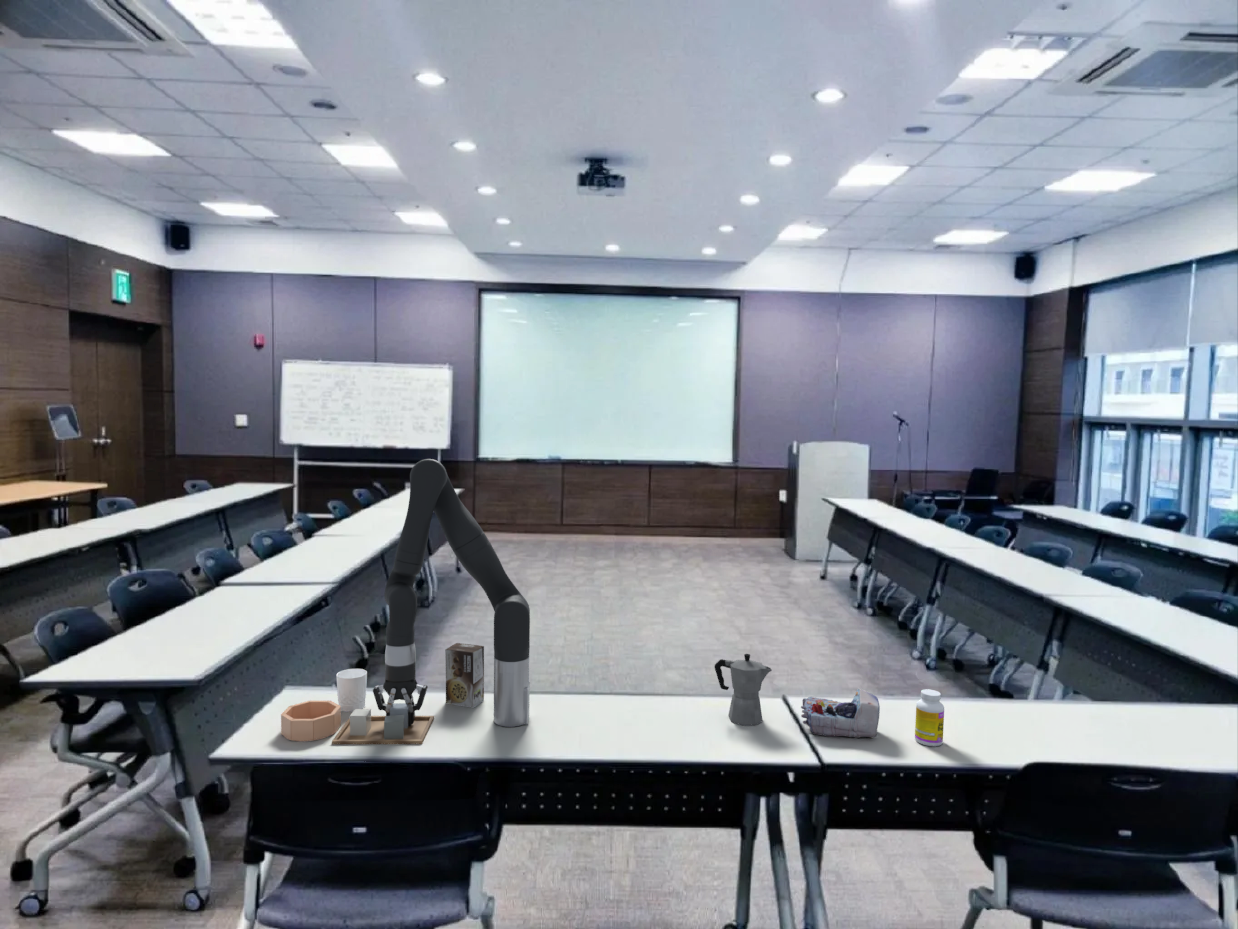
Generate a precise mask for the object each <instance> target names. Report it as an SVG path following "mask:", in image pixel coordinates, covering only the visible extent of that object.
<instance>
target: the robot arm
mask: <svg viewBox="0 0 1238 929" xmlns="http://www.w3.org/2000/svg"><path fill="white" fill-rule="evenodd" d="M409 480H410V481H409V482H410V484H409V488H410V489H409V500H408V506H407V507H408V508H407V511H406V516H405V520H404V524H403V527H402V531H401V533H400V537H399V541H398V544H397V547H396V552H395V557H394V560H393V567H392V569H391V572H390V574H389V576H388V579H387V582H386V583H385V584H386V585H385V588H384V595H383V596H384V600H385V603H386V604H387V605H388V613H389V614H388V622H387V624H386V628H385V629H386V630H385V652H384V675H385V676H384V683H383V684H381V685H379V684H377V685H375V686H374V687H373V689H372V693H373V695H374V699H375V702H376V705H377V709H378V710H379V711H384V712H385V716H390V708H391V707H392V705H393V704H394V703H395V701H398V700H401V701H404V703H406V705H407V707H408V711H409V712H408V726H411V725H412V724H413V723H414V721H415V716H416V711H420V710H421V708H422V706H423V704H424V700H425V697H426V694H427V691H428V688H429V687H428V685H427V684H424V685H422V684H418V682H417V679H416V666H417V665H416V664H417V663H416V660H417V659H416V654H417V651H416V645H415V643H416V642H415V641H416V639H415V638H416V637H415V636H416V635H415V634H416V633H415V631H416V630H415V622H416V616H417V608H418V597H417V594H416V591H415V589H414V584H415V581H416V577H417V575H419V574H420V573H421V571H422V567H423V564H424V561H425V560H424V559H425V555H426V551H427V547H428V540H429V534H430V529H431V528H430V527H431V522H432V517H433V514H435V516H436V518H437V520H438V522H439V525H440V527H441V530H442V532H443V534H444V537H445V538H446V541H447V543H448V545H449V546H450V548H451V551H453V553H454V555H455V557H456V558H457V560H458V562H459V563H460V564H461V566H462V567H463V568H464V569H465V570H466V572H467V573H468V574H469V575H470V576H471V577H472V578H473V579H474V580H475V581H476V582H477V583H478V584H479V586H480V587H481V588H482V590H483V591H484V593H485V595H486V597H487V598H488V600H489V602H490V604H491V606H492V609H493V610H494V611H493V654H494V655H493V656H494V657H493V722H494V724H495V725H497V726H500V727H506V728H507V727H510V728H511V727H519V726H522V725H528V724H529V718H530V690H531V688H530V686H531V685H530V684H531V682H530V644H531V643H530V642H531V641H530V639H531V638H530V636H531V635H530V631H531V629H530V627H531V618H530V617H531V613H530V610H531V608H530V605H529V603H528V601H527V600H526V598H525V597H524V596H523V594H522V593H521V592H520V591H519V589H518V588H517V587H516V586H515V584H514V583H513V582H512V580H511V579H510V577H509V576H508V574H507V572H506V571H505V569H504V567H503V564H502V563H501V560H500V558H499V556H498V555H497V552H496V551H495V549H494V547H493V545H492V544H491V541H490V540H489V539H488V538H489V537H488V536H487V535H486V533H485V532H484V529H483V528H482V527H481V526H480V524H479V523H478V522H477V520H476V519H475V517H474V516H473V514H472V513H471V512H470V511H469V509H468V508H467V507H466V506H465V505H464V503H463V502H462V501H461V499H460V497H459V496H458V494H457V492H456V490H455V488H454V485H453V484H452V482H451V480H450V478H449V476H448V472H447V469H446V467H445V466H444V464H442V463H441V461H438V460H436V459H433V458H432V459H431V458H425V459H421V460H419V461H418V462H416V463H415V464H414V465H413V466H412V468H411V470H410V473H409ZM415 690H416V691H417V695H418V699H417V701H416V702H417V703H415V702H414V701H415V700H414V697H413V693H414V692H415ZM384 691H385V692H386V693H387V695H388V699H387V702H386V701H385V699H384V696H383V693H384Z"/></svg>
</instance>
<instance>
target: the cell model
mask: <svg viewBox="0 0 1238 929" xmlns="http://www.w3.org/2000/svg"><path fill="white" fill-rule="evenodd" d="M880 707H881V706H880V702H879V699H878V697H877V696H876V695H875V694H873V693H871V692H869V691H868V690H864V689H863V688H857V689H856V692H855V693H854V695H853V699H852V700H851V702H850V701H849V702H840V701H838V700H833V699H828V698H820V697H814V696H808V697H807V698H806V697H804V698H802V705H801V706H800V708H801V709H802V710H801V713H802V714H801V716H800V717H801V718H802V719H806V720H803V721H802V724H804V725H808V727H809V729H810V731H811V733H812V734H813V735H819V736H822V737H827V738H828V737H831V738H834V737H846V738H847V737H849V738H857V739H859V738H862V737H863V738H864V737H866V738H867V737H869V738H875V737H876V736H877V732H878V726H879V720H880V709H881V708H880Z"/></svg>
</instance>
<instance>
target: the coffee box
mask: <svg viewBox="0 0 1238 929" xmlns="http://www.w3.org/2000/svg"><path fill="white" fill-rule="evenodd" d="M444 656H445V704H448V705H453V706H454V705H455V706H460V707H461V706H462V707H468V708H475V707H477V706H478V705H480V704H481V703H483V702H484V701H485V646H484V645H477V644H471V643H470V644H468V643H460V642H456V643H454V644H452V645H450V646H449V647H447V648H446V649H445V655H444Z"/></svg>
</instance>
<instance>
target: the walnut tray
mask: <svg viewBox="0 0 1238 929" xmlns="http://www.w3.org/2000/svg"><path fill="white" fill-rule="evenodd" d="M385 716H386V715H371V729H370V731H369V732H368V734H367V735H350V717H349V718H348V719H347V721H346V722H345V723H344V725H343V726H342V727H341V728H340V729H339V730H338V731H337V732H338V733H337V734H336V735H335V736H334V738H333V739H332V741H331V745H333V746H334V745H336V746H337V745H341V746H342V745H343V746H344V745H423V744H424V740H426V737H427V735H428V733H429V731H430V728H431V726H432V725H433V722H434V720H435V715H415V721H414V723H413V724H412V725H411V726H408V728H404V739H392V740H384V721H385Z"/></svg>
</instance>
